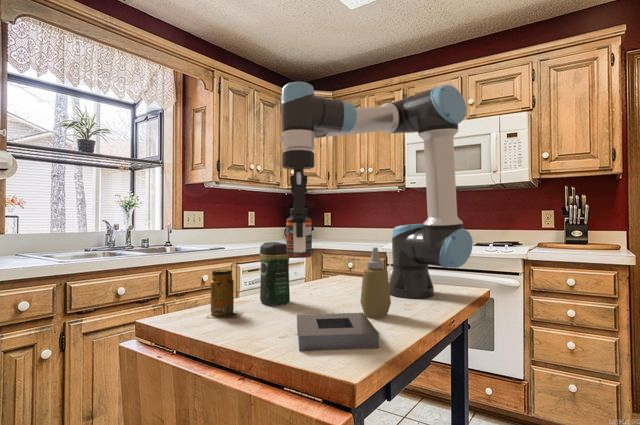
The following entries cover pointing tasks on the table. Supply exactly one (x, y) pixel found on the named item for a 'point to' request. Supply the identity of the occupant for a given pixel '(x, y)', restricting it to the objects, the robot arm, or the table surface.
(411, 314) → the table surface
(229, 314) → the condiment
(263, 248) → the coffee jar
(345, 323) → the socket block
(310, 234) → the supplement bottle
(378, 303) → the squeeze bottle
